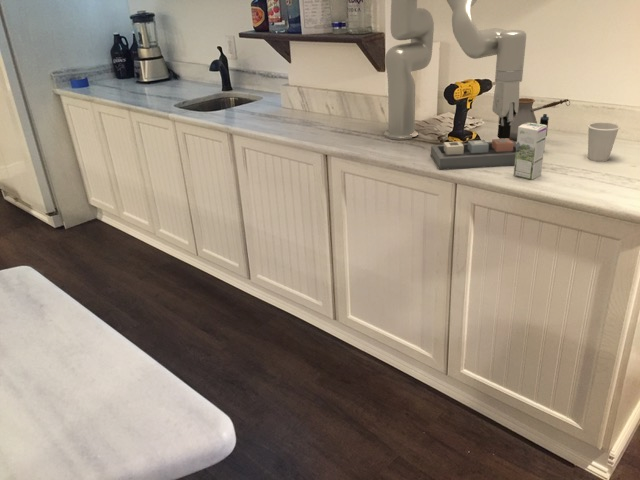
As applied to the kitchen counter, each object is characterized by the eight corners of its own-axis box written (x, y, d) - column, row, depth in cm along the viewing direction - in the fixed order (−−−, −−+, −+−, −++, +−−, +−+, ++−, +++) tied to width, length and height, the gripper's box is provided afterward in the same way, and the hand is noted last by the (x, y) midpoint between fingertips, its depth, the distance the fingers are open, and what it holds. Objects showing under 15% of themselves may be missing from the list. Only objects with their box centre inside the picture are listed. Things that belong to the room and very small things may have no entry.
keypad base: (431, 155, 174) (431, 145, 173) (511, 151, 174) (512, 140, 172) (439, 169, 162) (440, 158, 160) (526, 164, 161) (528, 153, 160)
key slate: (467, 148, 169) (468, 140, 167) (483, 147, 168) (484, 139, 167) (471, 153, 164) (472, 144, 163) (488, 152, 164) (488, 143, 163)
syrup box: (541, 174, 153) (548, 124, 146) (531, 180, 149) (537, 129, 143) (523, 170, 157) (528, 121, 150) (512, 176, 153) (517, 125, 147)
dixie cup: (604, 164, 157) (610, 131, 153) (577, 158, 163) (582, 126, 159) (619, 158, 161) (625, 125, 157) (592, 152, 167) (597, 120, 163)
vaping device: (543, 153, 169) (548, 115, 164) (526, 151, 172) (530, 114, 167) (545, 151, 171) (550, 113, 166) (529, 149, 174) (533, 112, 169)
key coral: (491, 146, 168) (492, 138, 167) (507, 145, 168) (508, 137, 167) (496, 151, 164) (497, 143, 163) (512, 150, 164) (513, 142, 163)
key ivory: (443, 149, 169) (443, 141, 168) (459, 148, 169) (460, 140, 168) (446, 154, 164) (447, 146, 163) (463, 153, 164) (463, 145, 163)
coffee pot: (496, 138, 187) (500, 94, 181) (515, 131, 194) (520, 88, 187) (553, 150, 172) (559, 102, 165) (572, 142, 178) (579, 96, 171)
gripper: (488, 72, 163) (484, 132, 171) (503, 81, 150) (498, 145, 158) (513, 71, 163) (508, 130, 171) (530, 79, 150) (524, 143, 158)
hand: (503, 137), depth 164 cm, fingers closed
